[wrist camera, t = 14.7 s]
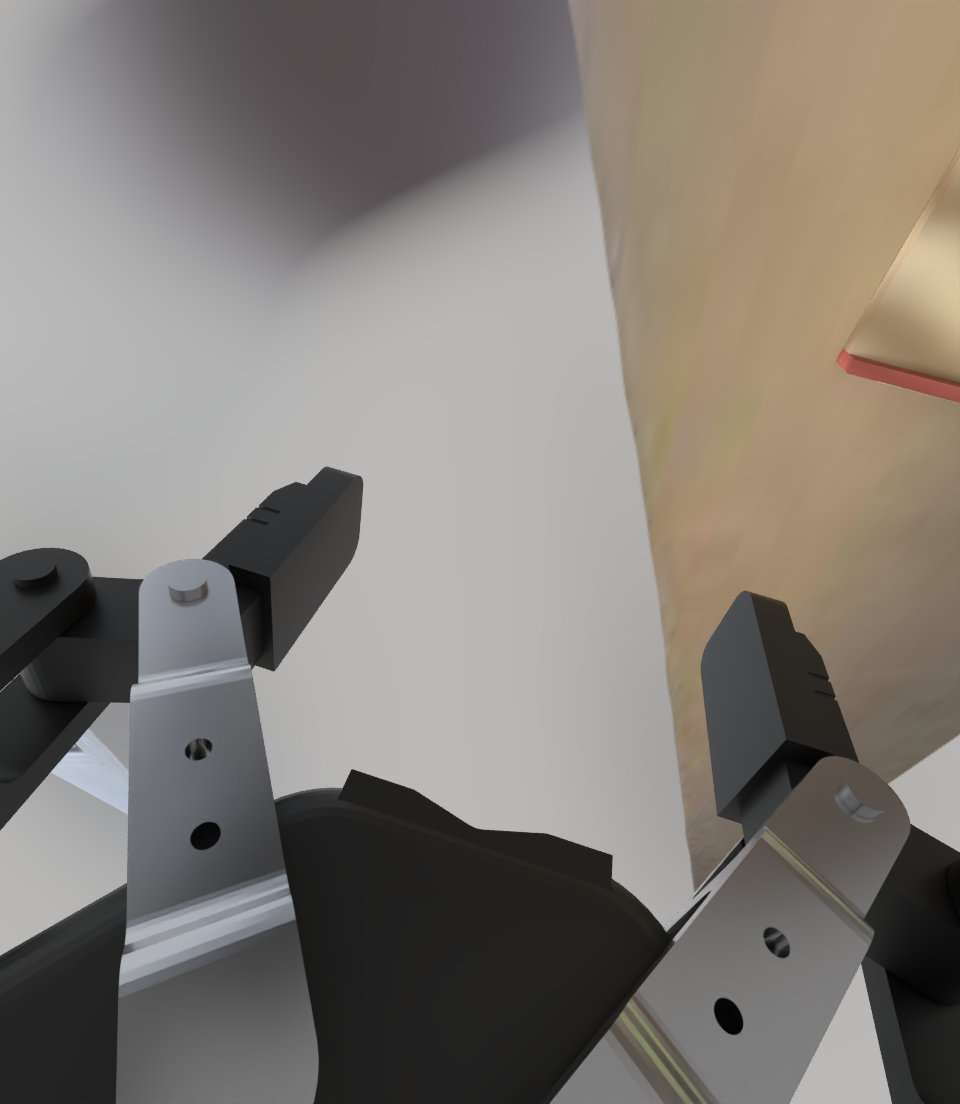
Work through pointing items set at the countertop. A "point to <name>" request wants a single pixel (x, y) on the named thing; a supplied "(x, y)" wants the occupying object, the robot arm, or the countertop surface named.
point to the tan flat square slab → (917, 306)
